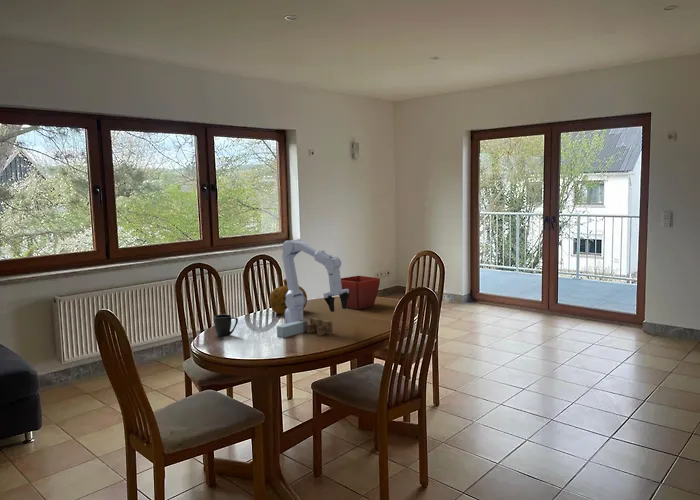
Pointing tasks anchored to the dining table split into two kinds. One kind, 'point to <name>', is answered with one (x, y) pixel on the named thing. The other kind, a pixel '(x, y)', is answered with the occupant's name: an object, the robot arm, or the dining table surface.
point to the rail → (292, 328)
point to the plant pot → (361, 291)
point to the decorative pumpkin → (282, 298)
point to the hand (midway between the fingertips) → (338, 310)
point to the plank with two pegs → (319, 326)
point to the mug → (223, 324)
